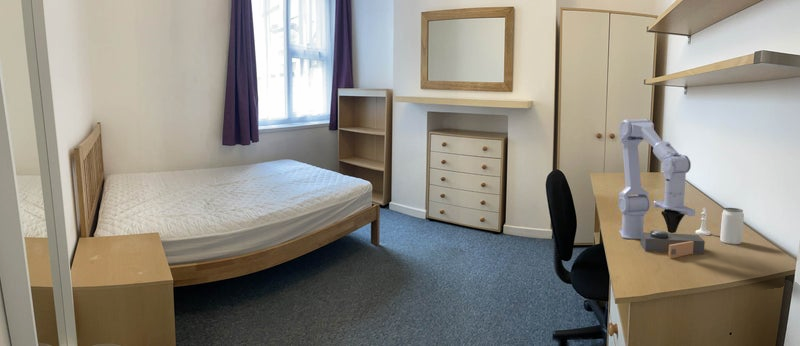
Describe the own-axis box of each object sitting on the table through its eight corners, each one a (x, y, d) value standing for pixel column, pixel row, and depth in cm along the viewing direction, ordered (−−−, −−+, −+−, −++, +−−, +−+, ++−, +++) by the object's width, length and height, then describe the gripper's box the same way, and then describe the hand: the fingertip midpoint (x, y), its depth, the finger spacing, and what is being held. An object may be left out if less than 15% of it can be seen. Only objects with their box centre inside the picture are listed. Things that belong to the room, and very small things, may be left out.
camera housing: (640, 244, 178) (641, 228, 177) (696, 247, 174) (698, 230, 173) (645, 251, 171) (646, 234, 170) (703, 254, 167) (705, 236, 166)
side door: (668, 257, 164) (668, 244, 163) (690, 252, 167) (691, 240, 167) (671, 258, 163) (672, 246, 162) (694, 254, 166) (695, 242, 165)
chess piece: (705, 231, 191) (706, 206, 190) (713, 234, 187) (715, 209, 185) (692, 231, 191) (694, 206, 190) (700, 235, 186) (702, 209, 185)
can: (721, 238, 182) (723, 206, 180) (742, 241, 178) (745, 208, 176) (718, 242, 177) (721, 210, 175) (740, 246, 173) (743, 212, 171)
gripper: (647, 189, 168) (645, 228, 171) (684, 197, 155) (681, 239, 157) (663, 187, 171) (660, 225, 173) (701, 195, 157) (698, 236, 160)
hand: (671, 232), depth 165 cm, fingers closed
